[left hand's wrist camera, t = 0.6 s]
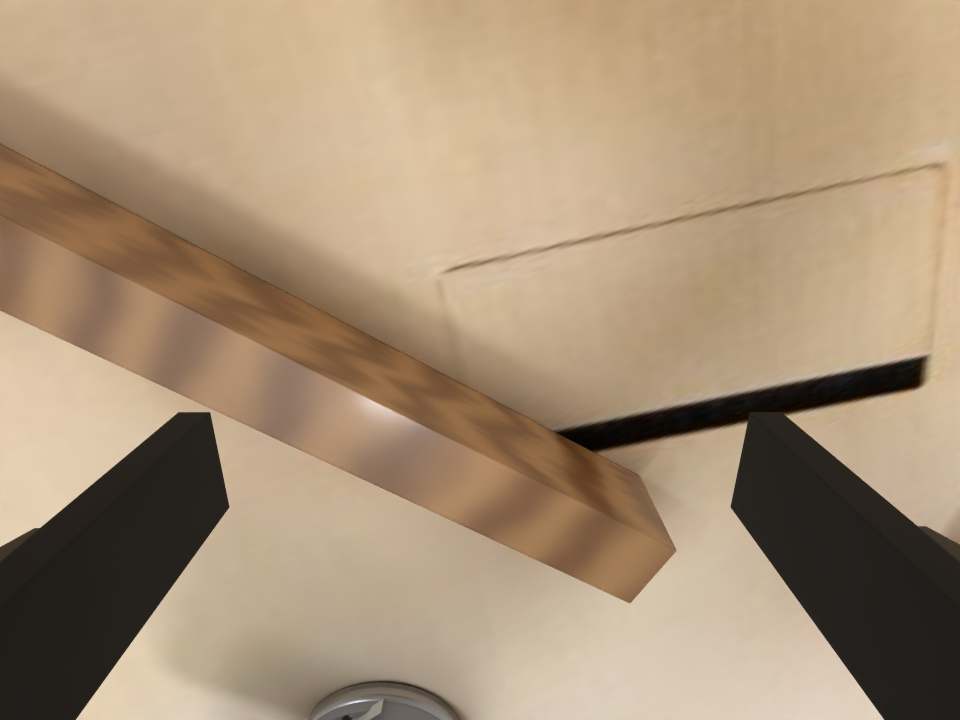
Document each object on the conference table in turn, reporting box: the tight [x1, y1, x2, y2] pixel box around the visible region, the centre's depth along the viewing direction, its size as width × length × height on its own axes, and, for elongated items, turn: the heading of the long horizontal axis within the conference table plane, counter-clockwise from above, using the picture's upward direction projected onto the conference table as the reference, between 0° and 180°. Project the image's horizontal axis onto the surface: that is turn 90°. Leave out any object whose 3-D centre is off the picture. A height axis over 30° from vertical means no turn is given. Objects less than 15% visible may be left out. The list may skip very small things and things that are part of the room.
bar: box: [0, 145, 676, 603], centre depth 32 cm, size 59×5×8 cm, turn 60°
